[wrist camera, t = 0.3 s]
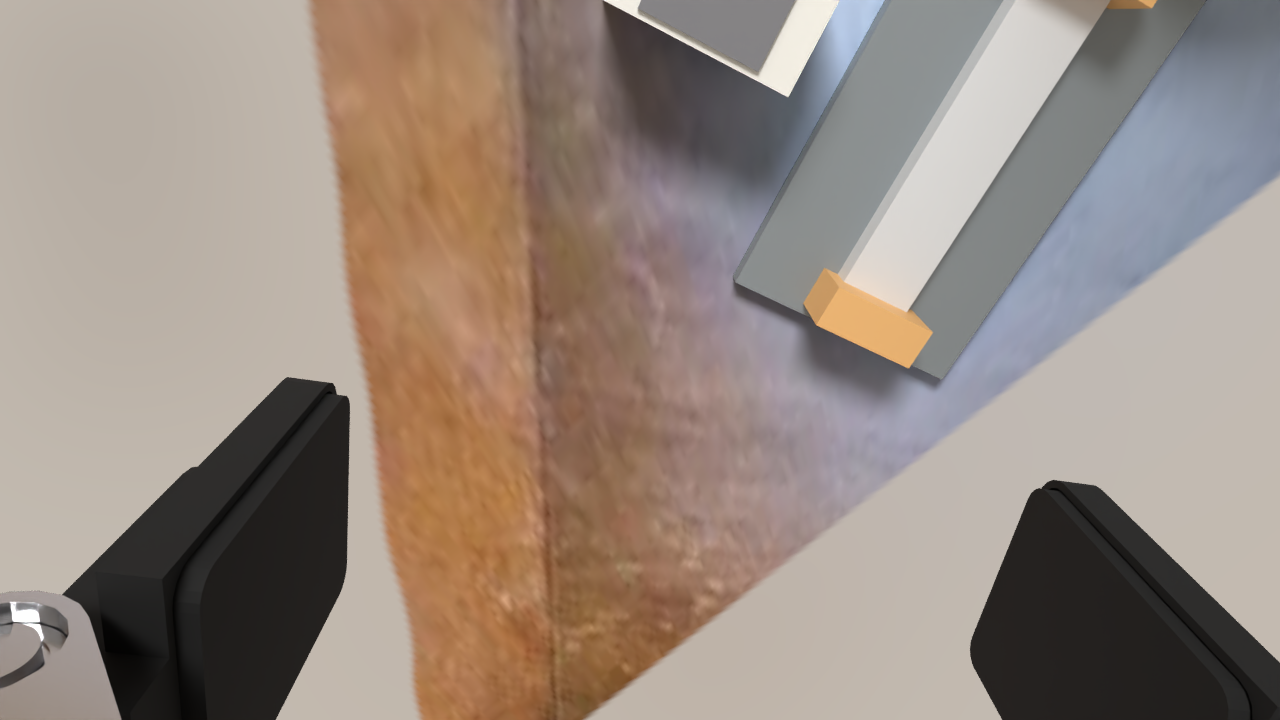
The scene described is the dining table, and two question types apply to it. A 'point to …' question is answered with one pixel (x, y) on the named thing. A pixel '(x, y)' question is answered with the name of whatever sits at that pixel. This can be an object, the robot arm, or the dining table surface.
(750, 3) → the block
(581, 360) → the dining table surface
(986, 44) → the rail board
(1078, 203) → the dining table surface
